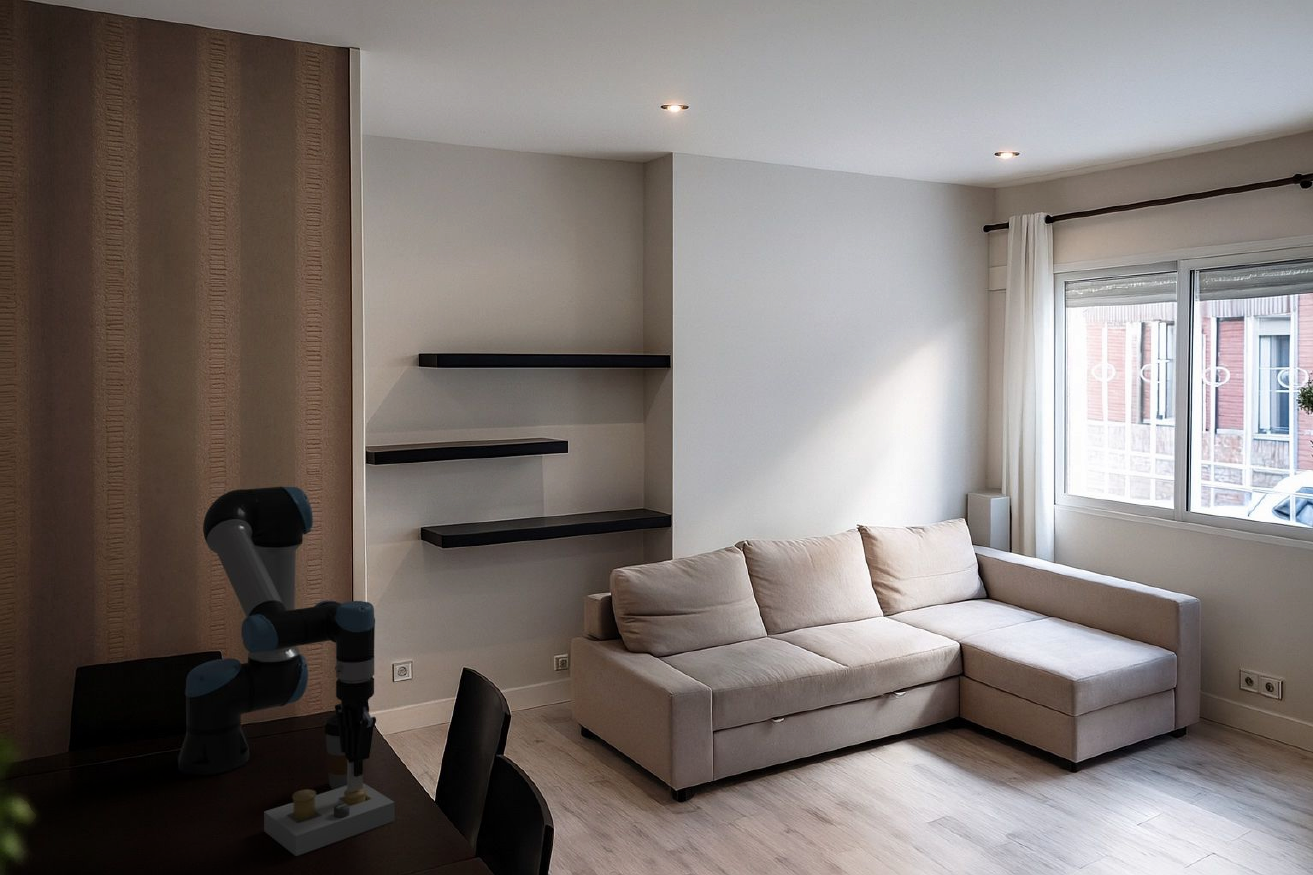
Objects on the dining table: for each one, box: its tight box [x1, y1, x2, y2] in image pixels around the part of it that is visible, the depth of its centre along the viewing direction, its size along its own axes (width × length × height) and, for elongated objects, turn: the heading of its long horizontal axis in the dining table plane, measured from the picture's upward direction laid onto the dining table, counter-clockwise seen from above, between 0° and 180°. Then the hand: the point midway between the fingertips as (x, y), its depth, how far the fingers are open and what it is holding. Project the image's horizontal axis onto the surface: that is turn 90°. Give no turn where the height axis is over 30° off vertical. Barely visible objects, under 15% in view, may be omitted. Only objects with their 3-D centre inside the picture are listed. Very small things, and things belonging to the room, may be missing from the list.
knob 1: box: [291, 789, 317, 819], centre depth 188 cm, size 4×4×4 cm
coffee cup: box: [324, 714, 347, 790], centre depth 211 cm, size 8×8×15 cm
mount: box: [263, 782, 395, 857], centre depth 192 cm, size 14×21×6 cm, turn 136°
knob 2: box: [344, 788, 366, 806], centre depth 196 cm, size 4×4×4 cm
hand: (354, 789), depth 196 cm, fingers closed
